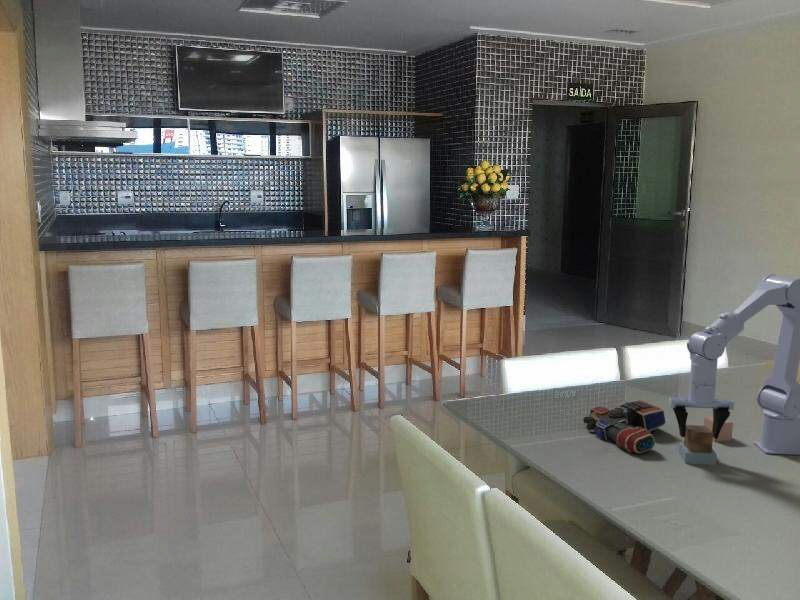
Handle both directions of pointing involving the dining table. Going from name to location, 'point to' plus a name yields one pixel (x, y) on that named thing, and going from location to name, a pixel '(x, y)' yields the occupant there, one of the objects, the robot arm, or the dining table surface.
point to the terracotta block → (725, 430)
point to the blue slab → (697, 456)
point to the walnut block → (698, 438)
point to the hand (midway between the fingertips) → (698, 436)
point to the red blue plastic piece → (627, 424)
